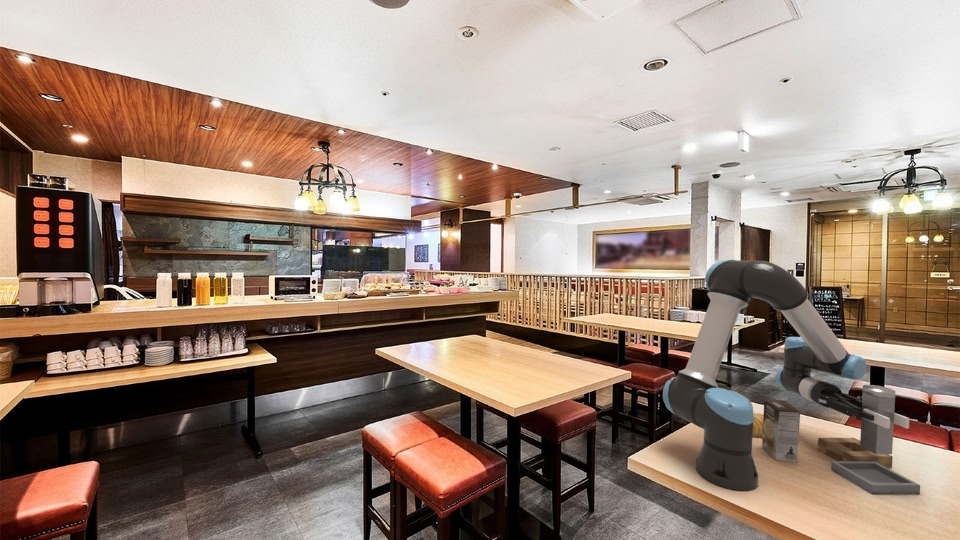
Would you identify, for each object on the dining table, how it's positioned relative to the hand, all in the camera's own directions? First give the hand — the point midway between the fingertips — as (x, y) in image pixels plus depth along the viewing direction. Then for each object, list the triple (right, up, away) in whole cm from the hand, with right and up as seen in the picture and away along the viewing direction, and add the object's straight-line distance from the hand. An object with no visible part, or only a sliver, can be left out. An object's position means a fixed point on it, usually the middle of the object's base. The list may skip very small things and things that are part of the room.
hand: (897, 423), depth 105 cm
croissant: (-12, -18, +37) cm, 43 cm away
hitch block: (+6, -18, +19) cm, 27 cm away
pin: (0, -10, +6) cm, 11 cm away
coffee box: (-16, -18, +21) cm, 32 cm away
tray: (-1, -19, +6) cm, 20 cm away
